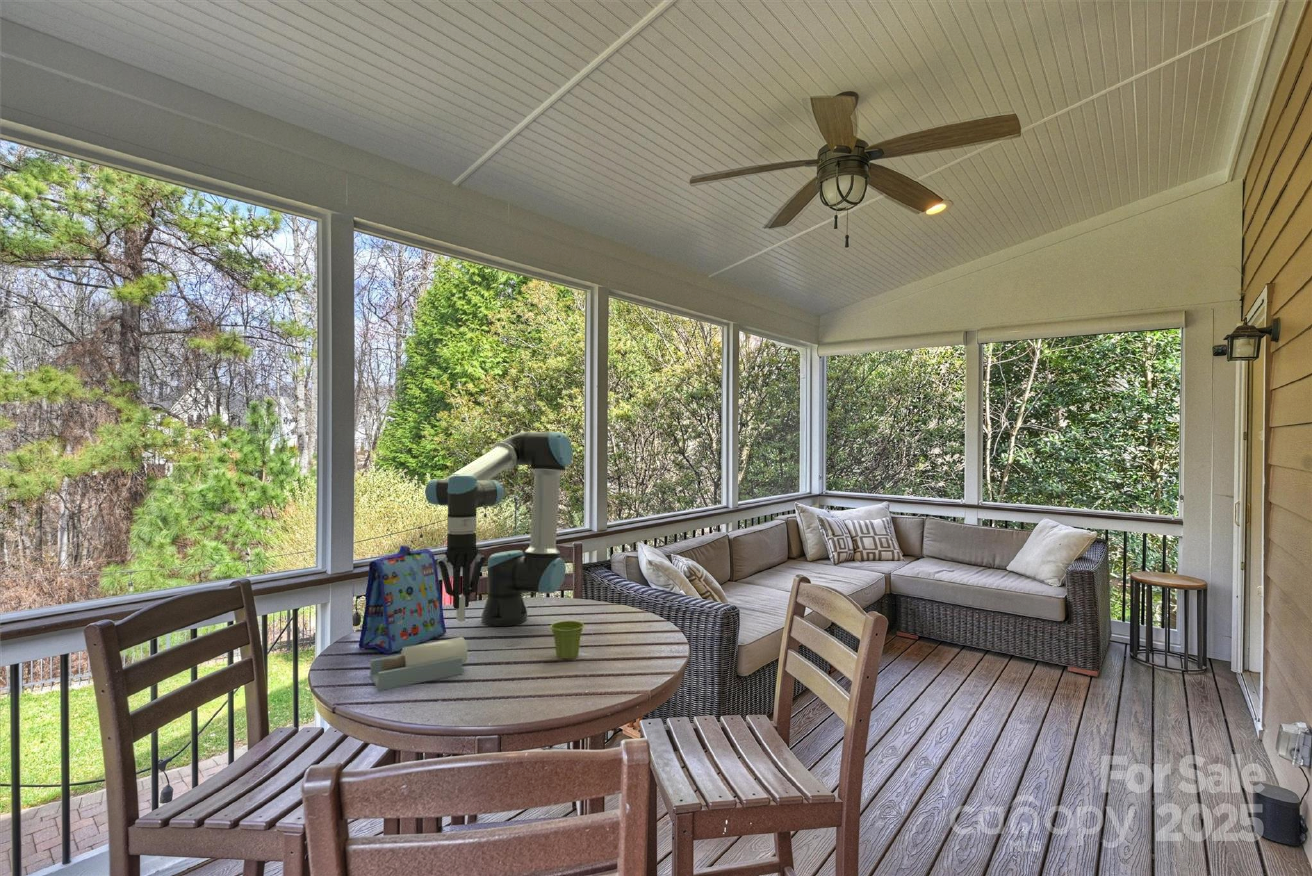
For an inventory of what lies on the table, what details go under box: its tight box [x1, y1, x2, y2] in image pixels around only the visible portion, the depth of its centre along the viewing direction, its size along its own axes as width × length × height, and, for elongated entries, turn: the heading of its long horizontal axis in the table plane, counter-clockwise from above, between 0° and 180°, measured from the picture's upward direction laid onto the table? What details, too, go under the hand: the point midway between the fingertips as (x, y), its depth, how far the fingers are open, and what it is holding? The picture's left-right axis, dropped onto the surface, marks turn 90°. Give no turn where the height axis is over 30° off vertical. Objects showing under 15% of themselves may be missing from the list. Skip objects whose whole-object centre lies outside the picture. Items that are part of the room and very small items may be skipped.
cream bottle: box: [382, 636, 468, 671], centre depth 157 cm, size 7×7×20 cm
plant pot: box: [550, 620, 585, 660], centre depth 172 cm, size 9×9×9 cm
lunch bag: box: [358, 544, 447, 655], centre depth 184 cm, size 22×14×29 cm, turn 154°
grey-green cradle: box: [369, 654, 463, 692], centre depth 157 cm, size 20×11×4 cm, turn 124°
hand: (460, 619), depth 164 cm, fingers closed
